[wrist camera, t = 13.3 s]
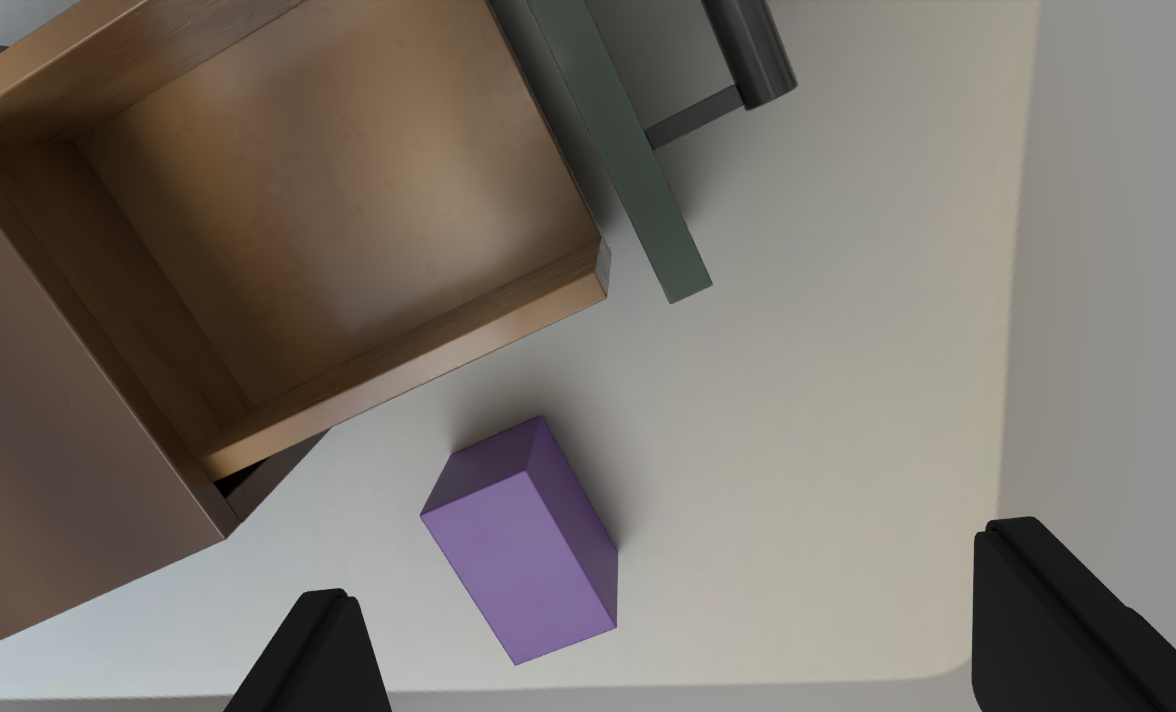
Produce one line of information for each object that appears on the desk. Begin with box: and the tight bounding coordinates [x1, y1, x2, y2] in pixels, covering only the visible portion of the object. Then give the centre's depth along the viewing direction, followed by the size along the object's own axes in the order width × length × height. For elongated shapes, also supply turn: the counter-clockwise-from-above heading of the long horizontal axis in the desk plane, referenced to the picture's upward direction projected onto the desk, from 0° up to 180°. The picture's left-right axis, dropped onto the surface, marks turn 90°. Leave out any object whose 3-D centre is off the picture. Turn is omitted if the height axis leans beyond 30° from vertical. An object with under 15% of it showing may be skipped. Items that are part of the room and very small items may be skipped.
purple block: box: [420, 416, 618, 665], centre depth 27 cm, size 7×4×5 cm, turn 27°
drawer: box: [0, 0, 798, 482], centre depth 21 cm, size 22×14×7 cm, turn 116°
